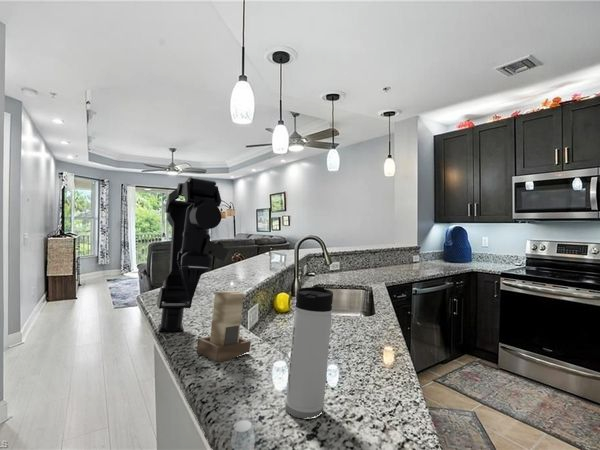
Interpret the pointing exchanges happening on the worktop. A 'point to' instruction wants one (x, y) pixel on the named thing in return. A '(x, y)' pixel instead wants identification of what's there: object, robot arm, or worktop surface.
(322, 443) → the worktop surface
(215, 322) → the block
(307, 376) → the travel mug
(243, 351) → the post socket
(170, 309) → the robot arm
